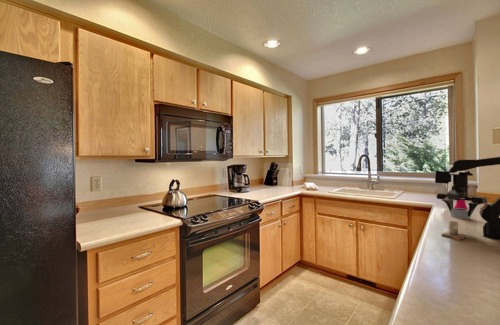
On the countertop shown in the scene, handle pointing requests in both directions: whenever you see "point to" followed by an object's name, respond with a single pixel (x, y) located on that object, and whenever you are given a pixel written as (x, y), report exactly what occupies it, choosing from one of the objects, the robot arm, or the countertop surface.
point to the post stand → (453, 231)
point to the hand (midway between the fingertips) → (460, 215)
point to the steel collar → (460, 213)
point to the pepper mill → (461, 204)
